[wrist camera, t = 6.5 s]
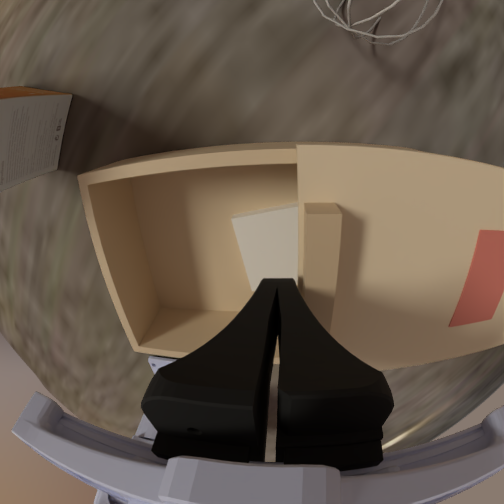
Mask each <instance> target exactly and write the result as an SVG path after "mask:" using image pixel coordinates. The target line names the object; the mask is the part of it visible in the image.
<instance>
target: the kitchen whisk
mask: <svg viewBox="0 0 504 504" xmlns="http://www.w3.org/2000/svg"><path fill="white" fill-rule="evenodd" d="M325 1H326V3H327V6H328V8H329V9H330V10H331V11H332V12H333V13H334V14H335V16H334V20H333V19H331V18H329V17H327V16H325V14H324V13H323V11H322V10H321V8H320V7H319V5H318V4H317V2H316V0H314V1H313V2H314V3H315V5H316V6H317V8H318V9H319V11H320V12H321V14H322V15H323V17H324V18H326V19H328V20H330V21H332V22H334V23H335V24H336V26H337V27H342V28H344V29H346V30H348V31H350V32H351V34H352V36H353V38H354V39H358V38H363V39H364V40H366V41H367V42H369V43H370V44H378V45H385V46H391V45H393V44H395V43H397V42H400V41H402V40H404V39H405V38H406V37H407V36H408V35H410V34H412V33H414V32H416V31H418V30H421V29H423V28H424V27H425V26H426V25H427V24H428V23H429V22H430V21H431V20H432V19H433V18H434V17H435V16H436V15H437V13H438V11H439V9H440V7H441V5H442V3H443V0H441V1H440V3H439V5H438V7H437V9H436V11H435V13H434V14H433V15H432V16H431V17H430V18H429V19H428V20H427V21H426V22H425V23H424V24H423V25H422V26H421V27H419V28H416V26H417V25H418V23H419V21H420V19H421V17H422V16H423V14H424V12H425V10H426V7H427V4H428V1H429V0H426V3H425V6H424V9H423V11H422V13H421V15H420V16H419V18H418V20H417V22H416V23H415V25H414V26H413V27H412V29H411V30H410V31H409V32H407V33H405V34H403V35H386V36H376V35H372V34H369V32H370V31H371V30H372V29H373V28H374V27H375V26H376V24H377V23H378V22H379V20H380V19H381V17H379V18H378V19H377V21H376V22H375V23H374V25H373V26H372V27H371V28H370V29H369V30H368V31H367V32H366V33H365V32H361V31H357V30H353V29H352V28H351V27H353V26H356V25H358V24H361V23H364V22H367V21H370V20H373V19H374V18H376V17H377V16H379V15H381V14H382V13H384V12H386V11H388V10H389V9H391V8H393V7H394V6H395V5H396V4H397V3H399V2H400V1H401V0H396V1H395V2H394V3H393V4H391V5H390V6H389V7H387V8H385V9H384V10H382V11H380V12H379V13H377V14H375V15H374V16H372V17H370V18H368V19H365V20H362V21H359V22H356V23H354V24H351V15H350V6H351V1H352V0H349V1H348V5H347V13H348V25H347V24H346V23H345V22H344V20H343V19H342V18H341V17H340V16H339V15H338V12H339V9H340V8H341V6H342V4H343V3H344V1H345V0H342V2H341V3H340V5H339V7H338V8H337V11H336V12H335V10H334V9H333V8H332V7H331V6H330V4H329V1H328V0H325ZM337 17H338V18H339V19H340V21H341V22H342V23H343V24H344V25H342V24H340V23H338V22H337V21H336V18H337ZM415 28H416V29H415ZM354 33H355V34H357V35H358V36H356V37H355V35H354ZM359 33H360V34H359ZM361 34H363V35H361ZM366 35H367V36H371V37H374V38H398V37H403V38H401V39H399V40H396V41H394V42H392V43H390V44H386V43H379V42H371V41H370V40H368V39H367V38H365V36H366Z"/></svg>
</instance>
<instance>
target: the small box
mask: <svg viewBox="0 0 504 504" xmlns="http://www.w3.org/2000/svg"><path fill="white" fill-rule="evenodd" d="M71 99H72V94H70V93H61V92H54V91H48V90H41V89H35V88H29V87H23V86H17V87H6V88H0V192H2V191H4V190H6V189H8V188H11V187H13V186H15V185H18V184H20V183H22V182H25V181H27V180H30V179H33V178H36V177H38V176H41V175H44V174H46V173H49V172H52V171H55V170H57V168H58V161H59V155H60V149H61V143H62V138H63V133H64V129H65V124H66V120H67V115H68V111H69V107H70V103H71Z"/></svg>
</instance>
